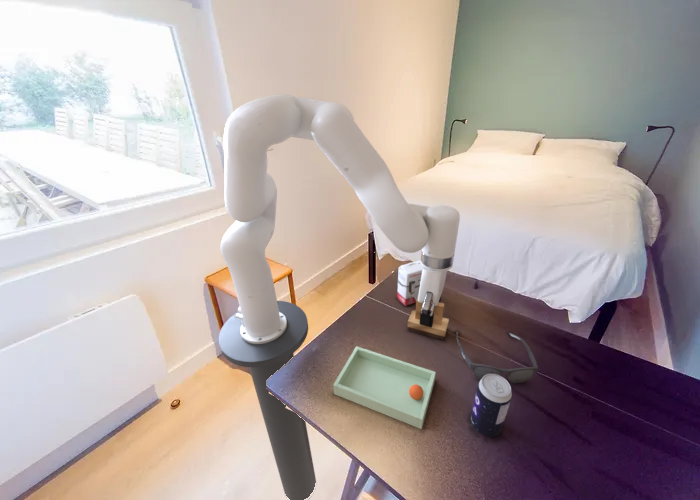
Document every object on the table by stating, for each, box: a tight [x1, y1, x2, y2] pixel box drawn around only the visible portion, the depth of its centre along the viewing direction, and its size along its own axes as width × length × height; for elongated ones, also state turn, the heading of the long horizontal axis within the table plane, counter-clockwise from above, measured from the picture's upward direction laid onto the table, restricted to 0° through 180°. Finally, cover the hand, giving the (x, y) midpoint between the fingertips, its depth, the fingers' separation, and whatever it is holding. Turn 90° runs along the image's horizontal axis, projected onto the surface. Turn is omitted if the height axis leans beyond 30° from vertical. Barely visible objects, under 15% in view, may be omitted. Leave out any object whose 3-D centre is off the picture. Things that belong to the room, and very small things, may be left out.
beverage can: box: [470, 374, 513, 438], centre depth 59 cm, size 6×6×12 cm
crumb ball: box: [409, 385, 423, 400], centre depth 67 cm, size 3×3×3 cm
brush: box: [406, 298, 450, 341], centre depth 83 cm, size 10×5×10 cm, turn 65°
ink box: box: [396, 259, 423, 307], centre depth 95 cm, size 9×5×12 cm, turn 114°
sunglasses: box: [455, 330, 539, 384], centre depth 76 cm, size 16×17×5 cm
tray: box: [333, 345, 437, 430], centre depth 70 cm, size 20×12×3 cm, turn 65°
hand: (430, 313), depth 83 cm, fingers open, 9 cm apart
